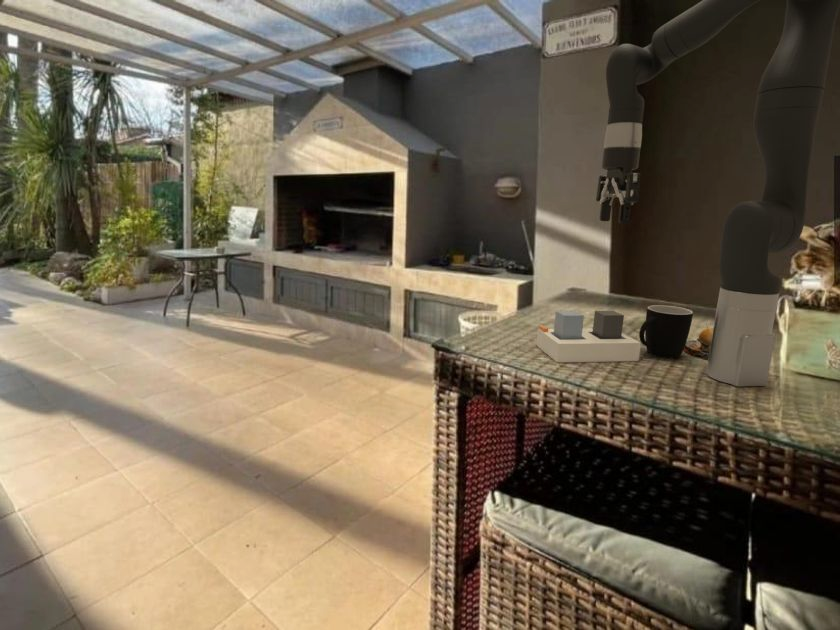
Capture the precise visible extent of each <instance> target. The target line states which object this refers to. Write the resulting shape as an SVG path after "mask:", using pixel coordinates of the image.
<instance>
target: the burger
mask: <svg viewBox="0 0 840 630" xmlns="http://www.w3.org/2000/svg"><path fill="white" fill-rule="evenodd" d="M712 333H713V328H708V325H707V323H706V328H705V329H704V330H702V331H701V332H700V333H699V335H698V338H697V339H696V340H695V339H693V340H688V341H686V344H685V347H684V350H683V352H686V355H689V356H691V357H694V358H697V359H701V360H706V361H708V358H709V351H710V345H711V339H712Z"/></svg>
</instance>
